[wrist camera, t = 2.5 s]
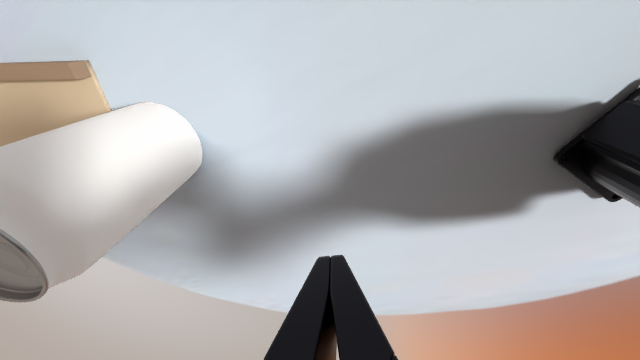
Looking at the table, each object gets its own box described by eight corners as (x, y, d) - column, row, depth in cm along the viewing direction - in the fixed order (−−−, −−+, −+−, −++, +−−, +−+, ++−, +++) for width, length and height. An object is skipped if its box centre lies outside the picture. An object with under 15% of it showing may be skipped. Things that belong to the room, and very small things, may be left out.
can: (204, 185, 21) (73, 322, 11) (130, 164, 21) (-77, 286, 11) (207, 115, 18) (25, 218, 8) (119, 88, 18) (-194, 160, 7)
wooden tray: (88, 60, 17) (67, 62, 16) (153, 202, 23) (141, 211, 22) (-82, 65, 18) (-115, 67, 17) (21, 198, 24) (3, 207, 23)
